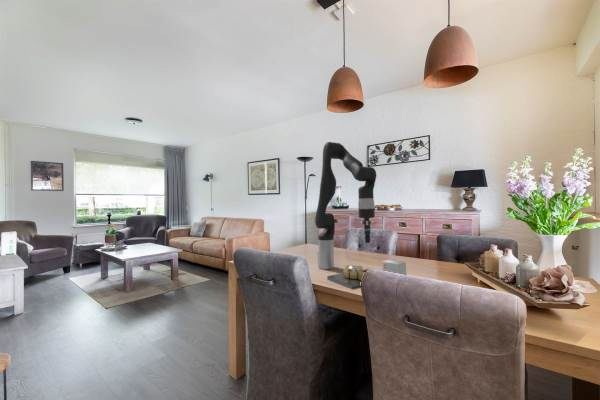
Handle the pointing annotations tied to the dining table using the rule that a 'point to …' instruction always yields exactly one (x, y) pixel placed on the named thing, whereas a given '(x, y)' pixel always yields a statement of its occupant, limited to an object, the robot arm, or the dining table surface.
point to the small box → (394, 266)
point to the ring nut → (354, 272)
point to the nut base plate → (345, 279)
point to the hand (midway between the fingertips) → (367, 241)
